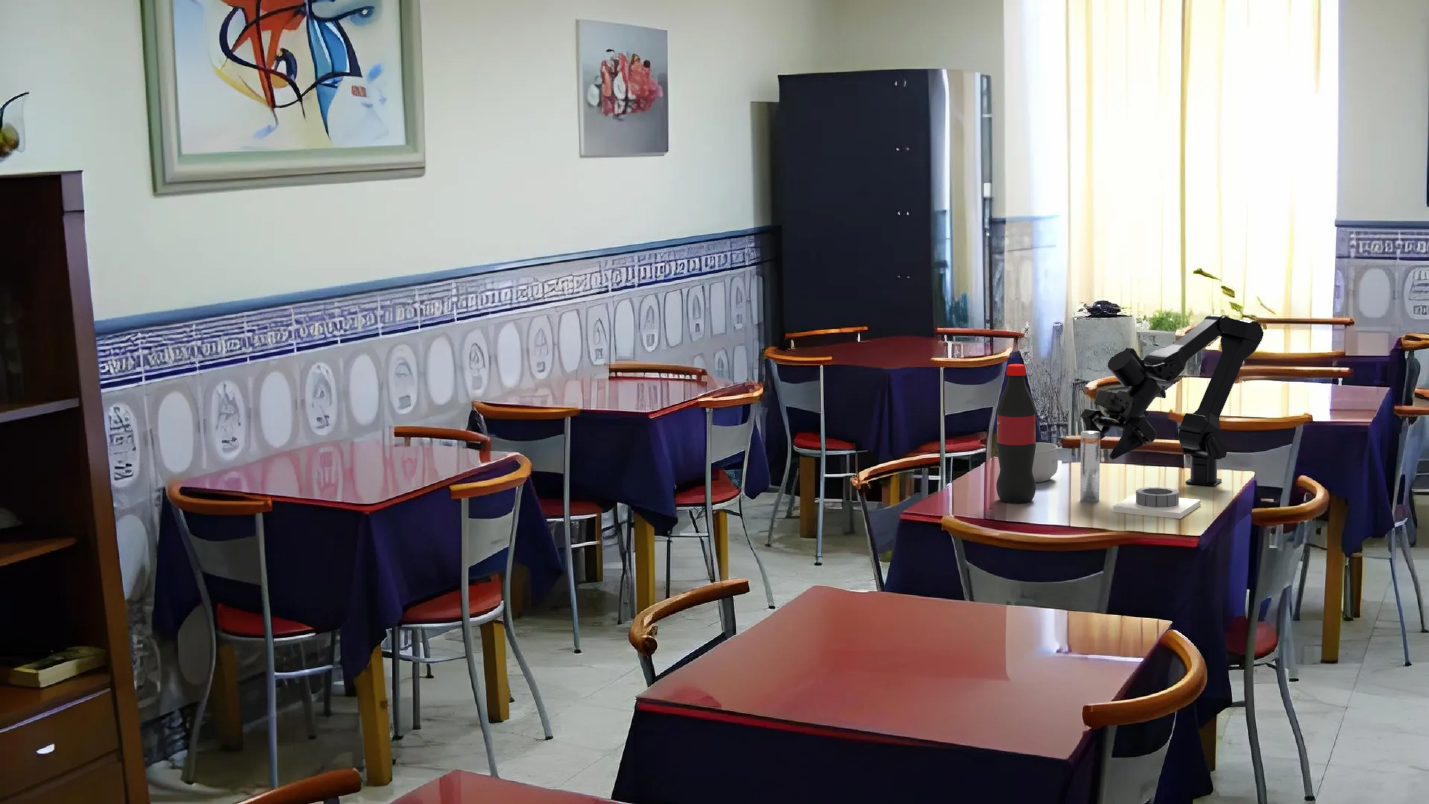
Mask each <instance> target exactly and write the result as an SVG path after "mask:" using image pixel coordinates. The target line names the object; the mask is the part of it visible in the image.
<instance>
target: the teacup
mask: <svg viewBox="0 0 1429 804" xmlns="http://www.w3.org/2000/svg"><path fill="white" fill-rule="evenodd" d="M1058 450H1059V447H1058V445H1057V444H1055V443H1051V442H1050V443H1049V442H1036V449H1035V456H1034V462H1033V468H1032V472H1033V476H1034V479H1035V482H1036V483H1041V482H1047V481H1049V480H1050V479H1052V477H1053V476H1055V475H1056V474H1057V472H1058V468H1059V467H1058V466H1059V455H1058V454H1059V453H1058Z"/></svg>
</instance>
